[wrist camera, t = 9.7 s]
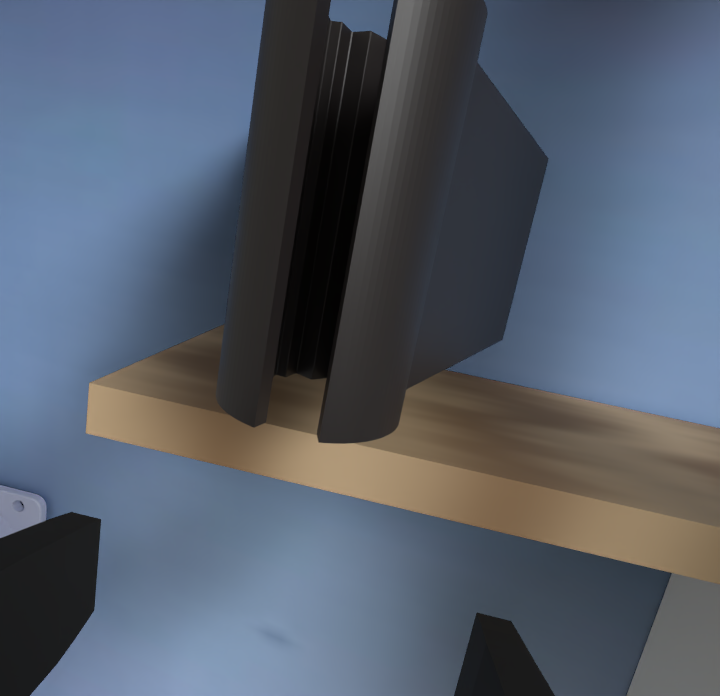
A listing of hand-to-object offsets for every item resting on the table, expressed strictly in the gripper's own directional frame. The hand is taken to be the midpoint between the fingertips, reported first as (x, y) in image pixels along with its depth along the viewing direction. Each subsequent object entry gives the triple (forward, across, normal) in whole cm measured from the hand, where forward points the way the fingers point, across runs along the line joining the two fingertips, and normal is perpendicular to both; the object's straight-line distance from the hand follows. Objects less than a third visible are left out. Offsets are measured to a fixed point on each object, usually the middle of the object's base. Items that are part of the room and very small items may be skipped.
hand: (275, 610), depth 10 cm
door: (+10, -4, -1) cm, 11 cm away
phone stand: (+11, 0, -7) cm, 13 cm away
